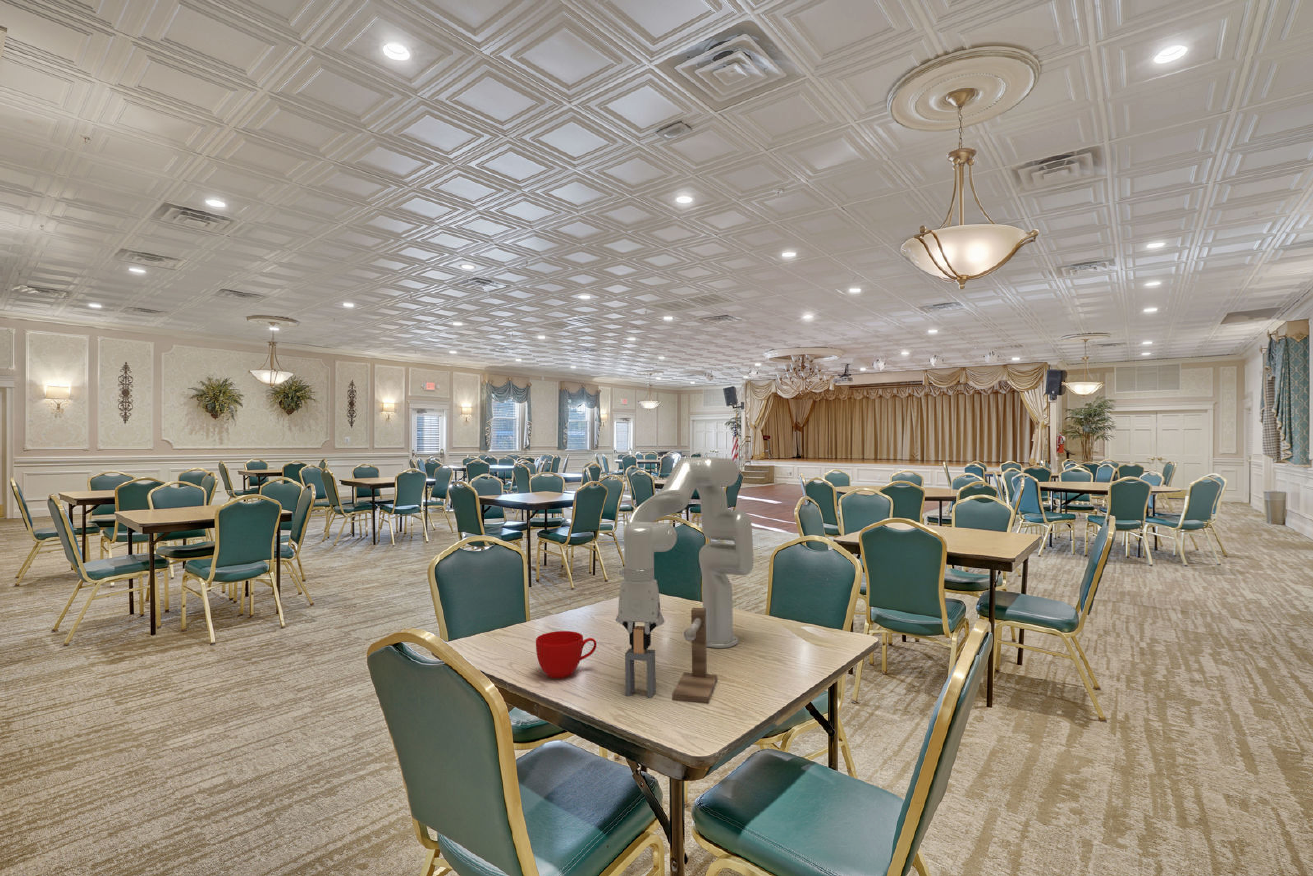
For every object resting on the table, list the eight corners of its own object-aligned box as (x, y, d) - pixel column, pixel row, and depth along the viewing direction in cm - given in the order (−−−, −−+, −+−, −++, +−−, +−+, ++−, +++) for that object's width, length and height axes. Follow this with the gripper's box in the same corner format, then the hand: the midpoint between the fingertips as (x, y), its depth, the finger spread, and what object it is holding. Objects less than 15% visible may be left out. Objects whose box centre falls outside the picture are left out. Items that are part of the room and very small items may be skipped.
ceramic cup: (602, 677, 160) (602, 640, 160) (539, 686, 154) (539, 647, 155) (591, 661, 172) (591, 627, 173) (532, 669, 167) (532, 634, 167)
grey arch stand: (625, 695, 147) (624, 629, 148) (630, 689, 151) (629, 624, 152) (651, 698, 146) (650, 630, 146) (655, 691, 150) (654, 626, 150)
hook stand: (684, 677, 159) (683, 606, 160) (717, 680, 157) (716, 608, 157) (671, 701, 144) (670, 623, 144) (708, 704, 141) (706, 625, 142)
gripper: (604, 576, 148) (605, 651, 147) (667, 579, 144) (668, 655, 143) (613, 571, 155) (614, 641, 154) (673, 573, 151) (674, 645, 151)
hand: (640, 647), depth 149 cm, fingers closed on grey arch stand, 2 cm apart
